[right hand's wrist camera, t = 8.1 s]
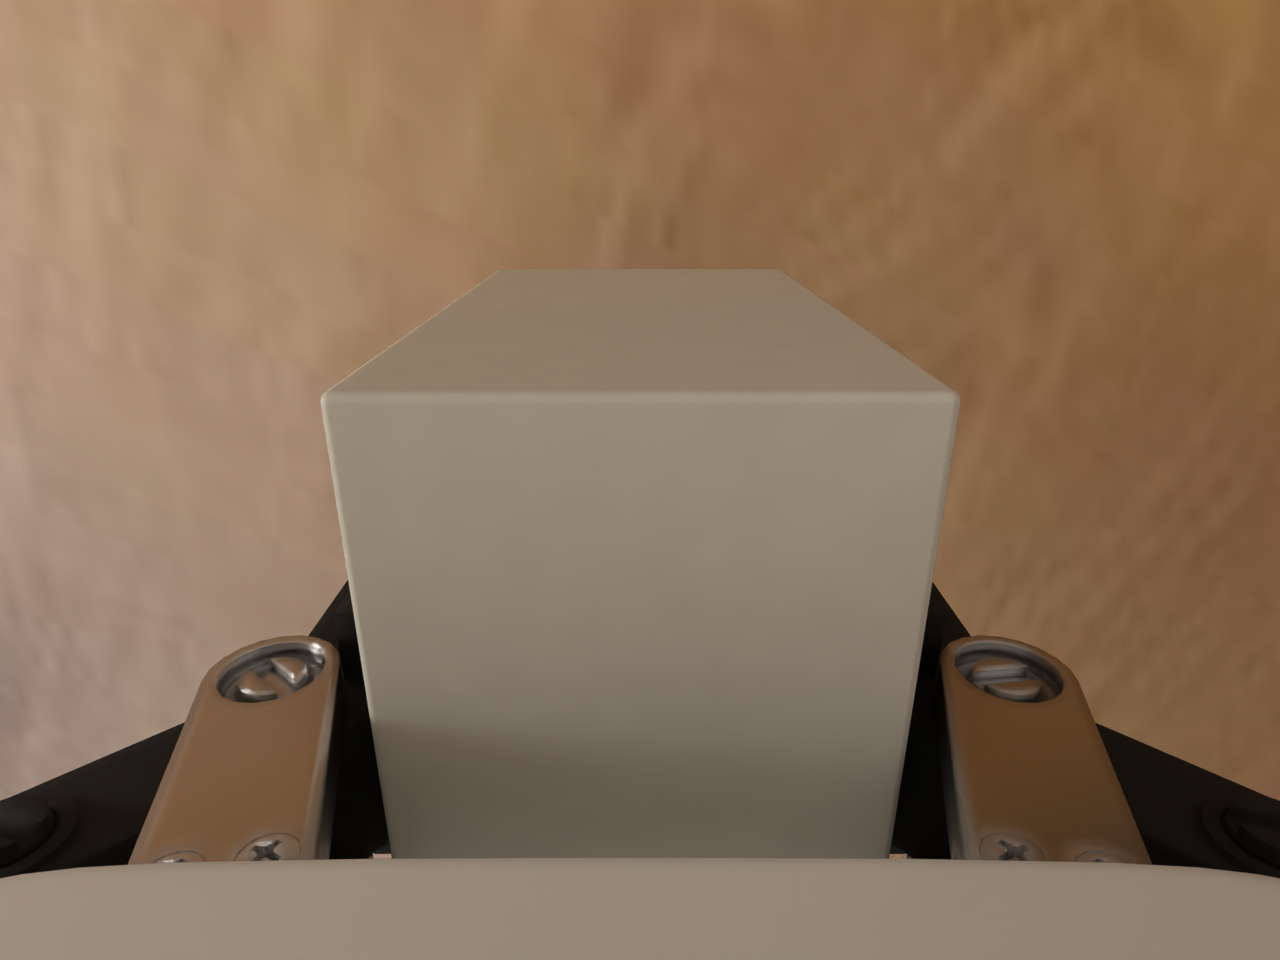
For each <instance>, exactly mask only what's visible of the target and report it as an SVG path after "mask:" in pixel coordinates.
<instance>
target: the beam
mask: <svg viewBox="0 0 1280 960" xmlns="http://www.w3.org/2000/svg"><path fill="white" fill-rule="evenodd" d="M960 402H961V401H960V398H959V394H958V393H957V392H956V391H954V390H953V389H951V388H950V387H948V386H947V385H946V384H944V383H943V382H941V381H940V380H938V379H937V378H935V377H934V376H933V375H931V374H930V373H928V372H927V371H925V370H924V369H923V368H921V367H920V366H918V365H917V364H915V363H914V362H912V361H911V360H910V359H908V358H907V357H905V356H904V355H902V354H901V353H900V352H898V351H897V350H895V349H894V348H892V347H891V346H889V345H888V344H887V343H885V342H884V341H882V340H881V339H879V338H878V337H876V336H875V335H874V334H872V333H871V332H869V331H868V330H866V329H865V328H864V327H862V326H861V325H859V324H858V323H856V322H855V321H853V320H852V319H851V318H849V317H848V316H846V315H845V314H843V313H842V312H841V311H839V310H838V309H836V308H835V307H833V306H832V305H830V304H829V303H828V302H826V301H825V300H823V299H822V298H820V297H819V296H817V295H816V294H815V293H813V292H812V291H810V290H809V289H807V288H806V287H805V286H803V285H802V284H800V283H799V282H797V281H796V280H794V279H793V278H792V277H790V276H789V275H787V274H786V273H784V272H783V271H781V270H779V269H501V270H498V271H497V272H495V273H494V274H492V275H491V276H490V277H488V278H487V279H485V280H484V281H482V282H481V283H480V284H478V285H477V286H475V287H474V288H472V289H471V290H470V291H468V292H467V293H465V294H464V295H463V296H461V297H460V298H458V299H457V300H455V301H454V302H453V303H451V304H450V305H448V306H447V307H445V308H444V309H443V310H441V311H440V312H438V313H437V314H435V315H434V316H433V317H431V318H430V319H428V320H427V321H425V322H424V323H423V324H421V325H420V326H418V327H417V328H416V329H414V330H413V331H411V332H410V333H408V334H407V335H406V336H404V337H403V338H401V339H400V340H398V341H397V342H396V343H394V344H393V345H391V346H390V347H388V348H387V349H386V350H384V351H383V352H381V353H380V354H378V355H377V356H376V357H374V358H373V359H371V360H370V361H368V362H367V363H366V364H364V365H363V366H361V367H360V368H359V369H357V370H356V371H354V372H353V373H351V374H350V375H349V376H347V377H346V378H344V379H343V380H341V381H340V382H339V383H337V384H336V385H334V386H333V387H331V388H330V389H329V390H327V391H326V392H324V393H323V394H322V398H321V401H320V403H321V409H322V416H323V422H324V429H325V435H326V441H327V448H328V454H329V460H330V467H331V473H332V480H333V486H334V492H335V499H336V505H337V511H338V518H339V524H340V530H341V537H342V543H343V550H344V556H345V562H346V569H347V575H348V581H349V588H350V594H351V600H352V607H353V613H354V620H355V626H356V632H357V639H358V645H359V651H360V658H361V664H362V671H363V677H364V683H365V690H366V696H367V702H368V709H369V715H370V721H371V728H372V734H373V741H374V747H375V753H376V760H377V766H378V772H379V779H380V785H381V791H382V798H383V804H384V811H385V817H386V823H387V830H388V836H389V842H390V849H391V855H392V859H442V858H838V859H889V855H890V848H891V842H892V836H893V829H894V823H895V817H896V810H897V804H898V797H899V791H900V785H901V778H902V772H903V766H904V759H905V753H906V746H907V740H908V734H909V727H910V721H911V715H912V708H913V702H914V695H915V689H916V683H917V676H918V670H919V664H920V657H921V651H922V645H923V638H924V632H925V625H926V619H927V613H928V606H929V600H930V594H931V587H932V581H933V574H934V568H935V562H936V555H937V549H938V543H939V536H940V530H941V523H942V517H943V511H944V504H945V498H946V492H947V485H948V479H949V472H950V466H951V460H952V453H953V447H954V441H955V434H956V428H957V421H958V415H959V409H960Z"/></svg>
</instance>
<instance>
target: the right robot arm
mask: <svg viewBox="0 0 1280 960" xmlns="http://www.w3.org/2000/svg"><path fill="white" fill-rule="evenodd" d="M373 853H374V854H391V849H390V842H389V836H388V830H387V823H386V817H385V811H384V804H383V798H382V791H381V785H380V779H379V772H378V766H377V760H376V753H375V747H374V741H373V734H372V728H371V721H370V715H369V709H368V702H367V696H366V690H365V683H364V677H363V671H362V664H361V658H360V651H359V645H358V639H357V632H356V626H355V620H354V613H353V607H352V600H351V594H350V588H349V581H347V582H346V583H345V585H344V586H343V588H342V589H341V591H340V592H339V593H338V595H337V596H336V598H335V599H334V600H333V602H332V603H331V605H330V606H329V608H328V609H327V610H326V612H325V613H324V615H323V616H322V617H321V619H320V620H319V622H318V623H317V625H316V626H315V627H314V629H313V630H312V632H311V633H310V634H309V636H284V637H277V638H273V639H268V640H263V641H260V642H257V643H254V644H251V645H249V646H246V647H243V648H241V649H239V650H237V651H235V652H233V653H232V654H230V655H228V656H226V657H224V658H223V659H222V660H220V661H219V662H218V663H217V664H216V665H214V666H213V667H212V668H211V669H210V670H209V671H208V673H207V674H206V676H205V677H204V679H203V680H202V682H201V684H200V687H199V689H198V692H197V694H196V697H195V699H194V702H193V704H192V707H191V709H190V711H189V714H188V716H187V719H186V721H185V722H184V723H182V724H180V725H177V726H175V727H173V728H170V729H168V730H166V731H163V732H161V733H159V734H156V735H154V736H152V737H150V738H147V739H145V740H143V741H140V742H138V743H136V744H133V745H131V746H129V747H126V748H124V749H122V750H119V751H117V752H115V753H112V754H110V755H108V756H105V757H103V758H101V759H98V760H96V761H94V762H91V763H89V764H87V765H84V766H82V767H80V768H77V769H75V770H73V771H70V772H68V773H66V774H63V775H61V776H59V777H56V778H54V779H52V780H49V781H47V782H45V783H42V784H40V785H38V786H35V787H33V788H31V789H28V790H26V791H24V792H21V793H19V794H17V795H14V796H12V797H10V798H7V799H4V800H1V801H0V960H1280V801H1278V800H1276V799H1272V798H1270V797H1267V796H1265V795H1263V794H1260V793H1258V792H1256V791H1253V790H1251V789H1249V788H1246V787H1244V786H1242V785H1239V784H1237V783H1235V782H1232V781H1230V780H1228V779H1225V778H1223V777H1221V776H1218V775H1216V774H1214V773H1211V772H1209V771H1207V770H1204V769H1202V768H1200V767H1197V766H1195V765H1193V764H1190V763H1188V762H1186V761H1183V760H1181V759H1179V758H1176V757H1174V756H1172V755H1169V754H1167V753H1165V752H1162V751H1160V750H1158V749H1155V748H1153V747H1151V746H1148V745H1146V744H1144V743H1141V742H1139V741H1137V740H1134V739H1132V738H1130V737H1127V736H1125V735H1123V734H1120V733H1118V732H1116V731H1113V730H1111V729H1109V728H1106V727H1104V726H1102V725H1099V724H1097V723H1095V721H1094V719H1093V716H1092V714H1091V711H1090V709H1089V707H1088V704H1087V702H1086V699H1085V697H1084V694H1083V692H1082V689H1081V687H1080V684H1079V682H1078V680H1077V679H1076V677H1075V676H1074V674H1073V673H1072V671H1071V670H1070V669H1069V668H1068V667H1067V666H1066V665H1064V664H1063V663H1062V662H1061V661H1060V660H1058V659H1057V658H1056V657H1054V656H1052V655H1050V654H1048V653H1047V652H1045V651H1043V650H1041V649H1039V648H1037V647H1034V646H1031V645H1029V644H1026V643H1023V642H1020V641H1017V640H1012V639H1007V638H1003V637H996V636H970V634H969V633H968V631H967V630H966V629H965V627H964V626H963V624H962V623H961V622H960V620H959V619H958V617H957V616H956V614H955V613H954V612H953V610H952V609H951V607H950V606H949V605H948V603H947V602H946V600H945V599H944V597H943V596H942V595H941V593H940V592H939V590H938V589H937V588H936V586H935V585H934V583H933V582H932V587H931V594H930V600H929V606H928V613H927V619H926V625H925V632H924V638H923V645H922V651H921V657H920V664H919V670H918V676H917V683H916V689H915V695H914V702H913V708H912V715H911V721H910V727H909V734H908V740H907V746H906V753H905V759H904V766H903V772H902V778H901V785H900V791H899V797H898V804H897V810H896V817H895V823H894V829H893V836H892V842H891V848H890V854H906V853H907V859H838V858H442V859H373Z"/></svg>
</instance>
